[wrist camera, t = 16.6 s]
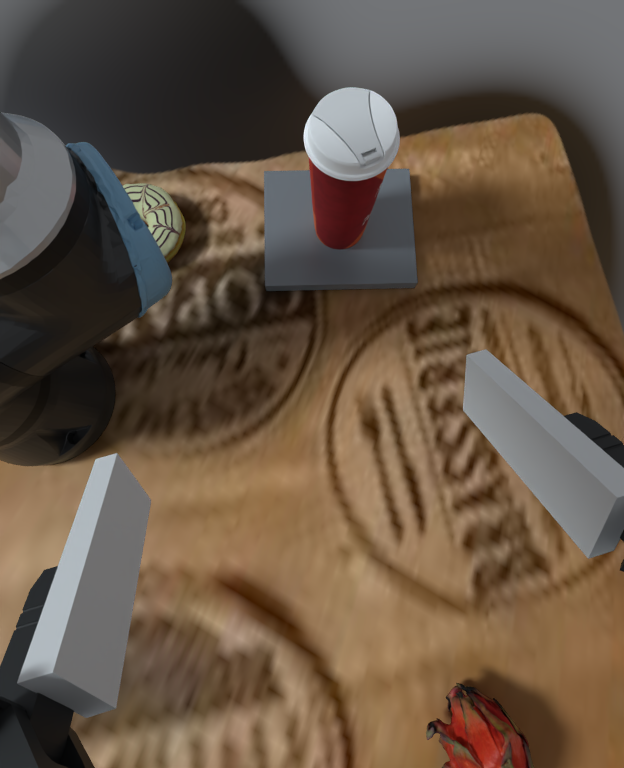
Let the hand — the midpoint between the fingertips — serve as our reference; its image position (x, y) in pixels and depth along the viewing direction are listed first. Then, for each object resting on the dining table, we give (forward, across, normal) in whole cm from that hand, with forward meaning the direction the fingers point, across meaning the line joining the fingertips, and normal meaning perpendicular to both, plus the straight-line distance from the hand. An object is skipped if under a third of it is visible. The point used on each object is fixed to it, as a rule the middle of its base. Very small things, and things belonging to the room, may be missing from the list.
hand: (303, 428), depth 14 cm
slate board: (+38, +11, -4) cm, 39 cm away
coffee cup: (+37, +11, -3) cm, 38 cm away
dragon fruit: (-2, +8, -44) cm, 45 cm away
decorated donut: (+42, -12, 0) cm, 44 cm away
